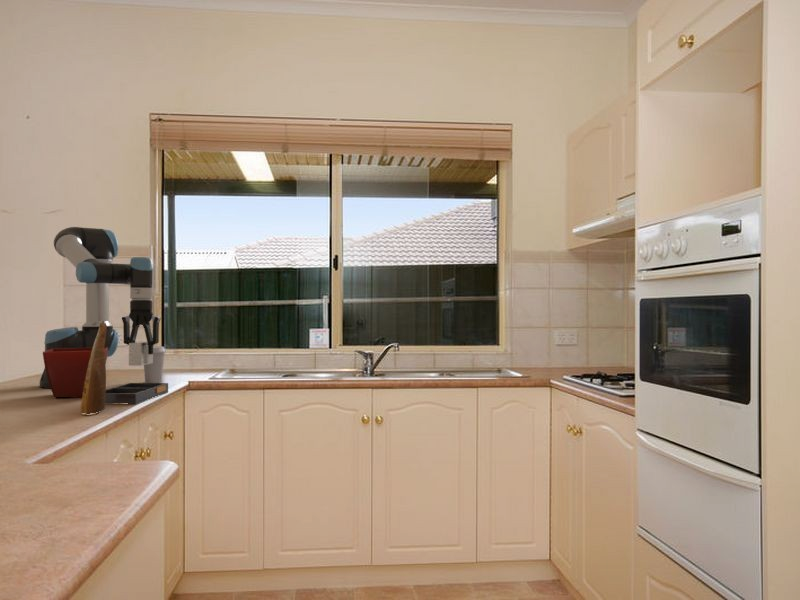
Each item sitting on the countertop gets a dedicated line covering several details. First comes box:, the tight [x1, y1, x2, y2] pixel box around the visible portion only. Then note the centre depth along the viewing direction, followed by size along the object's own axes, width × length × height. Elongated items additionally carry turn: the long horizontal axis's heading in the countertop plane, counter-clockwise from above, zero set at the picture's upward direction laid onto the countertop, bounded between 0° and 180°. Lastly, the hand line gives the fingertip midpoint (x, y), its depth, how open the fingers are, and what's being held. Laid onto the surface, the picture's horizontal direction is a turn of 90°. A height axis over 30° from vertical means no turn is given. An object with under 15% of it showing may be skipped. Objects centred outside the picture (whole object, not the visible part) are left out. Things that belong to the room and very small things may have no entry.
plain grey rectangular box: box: [128, 341, 153, 367], centre depth 224 cm, size 4×10×8 cm, turn 179°
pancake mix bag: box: [80, 321, 107, 414], centre depth 191 cm, size 7×19×28 cm, turn 16°
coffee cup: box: [143, 345, 166, 383], centre depth 260 cm, size 10×10×15 cm
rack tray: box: [105, 382, 169, 405], centre depth 218 cm, size 15×28×4 cm, turn 179°
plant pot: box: [42, 347, 108, 398], centre depth 223 cm, size 19×19×17 cm
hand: (141, 363), depth 224 cm, fingers closed on plain grey rectangular box, 4 cm apart
